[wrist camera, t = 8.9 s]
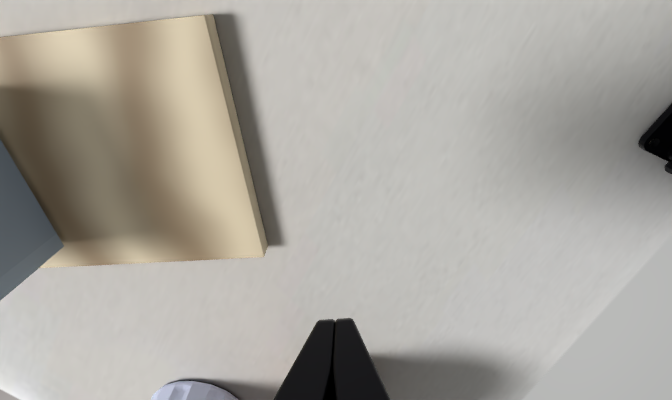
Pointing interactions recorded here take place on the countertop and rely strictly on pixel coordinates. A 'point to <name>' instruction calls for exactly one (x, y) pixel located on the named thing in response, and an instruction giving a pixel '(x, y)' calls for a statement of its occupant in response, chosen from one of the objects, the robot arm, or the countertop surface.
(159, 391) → the soap bottle
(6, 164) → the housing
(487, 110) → the countertop surface
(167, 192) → the flat panel
